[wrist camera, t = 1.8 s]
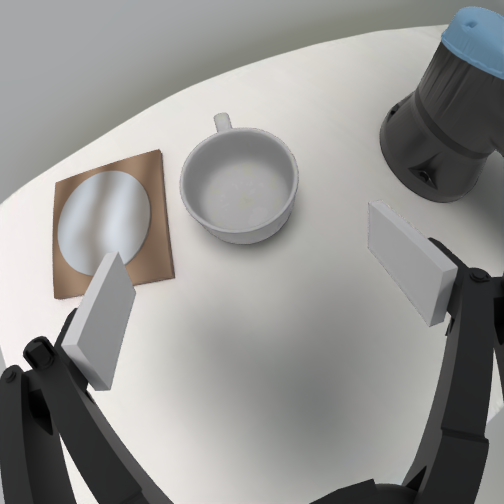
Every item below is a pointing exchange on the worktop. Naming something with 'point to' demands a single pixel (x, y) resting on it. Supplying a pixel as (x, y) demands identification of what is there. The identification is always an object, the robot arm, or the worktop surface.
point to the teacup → (239, 183)
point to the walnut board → (111, 224)
